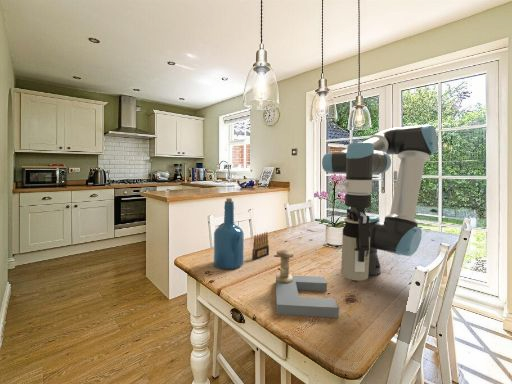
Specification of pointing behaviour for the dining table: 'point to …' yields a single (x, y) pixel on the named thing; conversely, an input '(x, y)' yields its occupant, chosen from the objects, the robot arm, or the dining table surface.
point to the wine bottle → (228, 241)
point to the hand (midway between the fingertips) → (354, 265)
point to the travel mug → (352, 252)
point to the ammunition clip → (260, 246)
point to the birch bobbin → (284, 266)
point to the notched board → (304, 298)
